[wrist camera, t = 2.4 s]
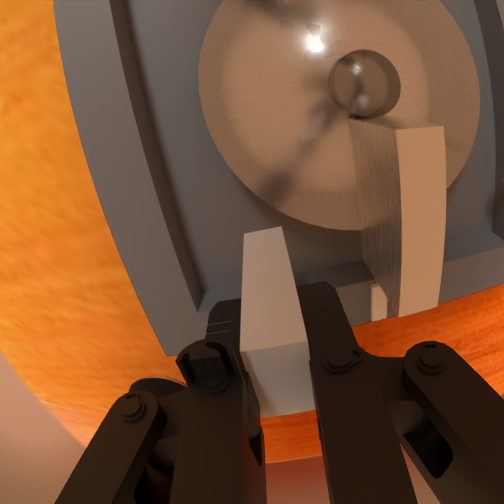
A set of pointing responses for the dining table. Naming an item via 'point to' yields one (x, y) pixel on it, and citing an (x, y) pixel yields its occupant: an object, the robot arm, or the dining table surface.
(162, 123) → the panel
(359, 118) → the dial
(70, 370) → the dining table surface
